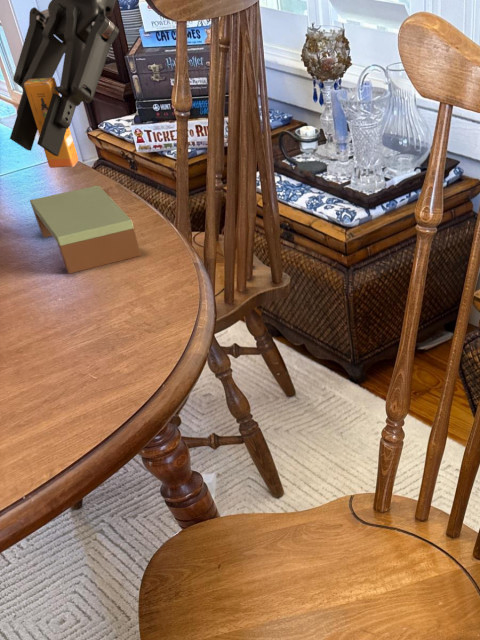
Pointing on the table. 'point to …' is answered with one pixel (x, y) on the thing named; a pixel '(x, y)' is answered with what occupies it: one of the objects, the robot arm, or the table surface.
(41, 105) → the supplement box
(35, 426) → the table surface
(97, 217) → the shelf
